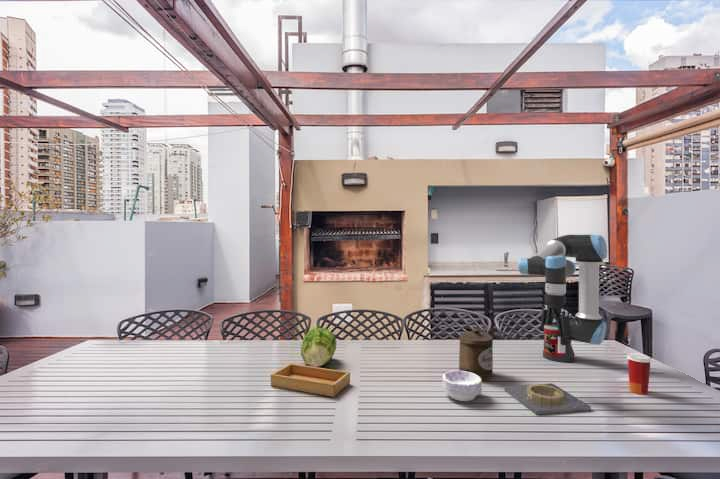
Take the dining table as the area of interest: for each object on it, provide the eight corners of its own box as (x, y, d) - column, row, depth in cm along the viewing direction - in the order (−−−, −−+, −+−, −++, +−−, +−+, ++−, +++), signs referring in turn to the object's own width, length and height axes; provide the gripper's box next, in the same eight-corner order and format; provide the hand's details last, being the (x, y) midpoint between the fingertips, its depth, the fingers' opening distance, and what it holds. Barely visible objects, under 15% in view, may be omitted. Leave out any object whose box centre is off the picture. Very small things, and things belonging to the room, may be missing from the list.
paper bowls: (460, 408, 143) (460, 387, 143) (434, 393, 156) (434, 373, 156) (490, 400, 150) (490, 380, 150) (463, 386, 164) (463, 367, 163)
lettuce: (291, 356, 178) (324, 334, 177) (294, 334, 200) (323, 314, 200) (313, 384, 182) (346, 362, 181) (314, 359, 204) (342, 340, 204)
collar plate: (504, 390, 159) (504, 381, 159) (552, 386, 163) (552, 378, 163) (536, 415, 138) (536, 405, 137) (590, 410, 141) (591, 401, 141)
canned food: (539, 351, 159) (540, 324, 159) (558, 350, 160) (558, 324, 160) (550, 356, 151) (551, 329, 151) (569, 356, 152) (570, 329, 152)
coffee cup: (646, 389, 160) (647, 353, 160) (654, 397, 152) (654, 359, 152) (623, 386, 163) (623, 351, 163) (629, 394, 155) (630, 357, 155)
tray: (270, 386, 164) (270, 373, 164) (290, 374, 178) (290, 362, 178) (333, 399, 152) (333, 385, 152) (350, 385, 166) (350, 372, 166)
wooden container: (488, 383, 166) (488, 333, 166) (454, 376, 174) (455, 328, 174) (495, 373, 179) (496, 326, 178) (464, 367, 187) (464, 322, 186)
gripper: (531, 290, 165) (531, 342, 165) (564, 297, 145) (563, 357, 145) (547, 290, 166) (546, 342, 166) (582, 297, 146) (581, 357, 146)
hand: (554, 349), depth 156 cm, fingers closed on canned food, 8 cm apart
